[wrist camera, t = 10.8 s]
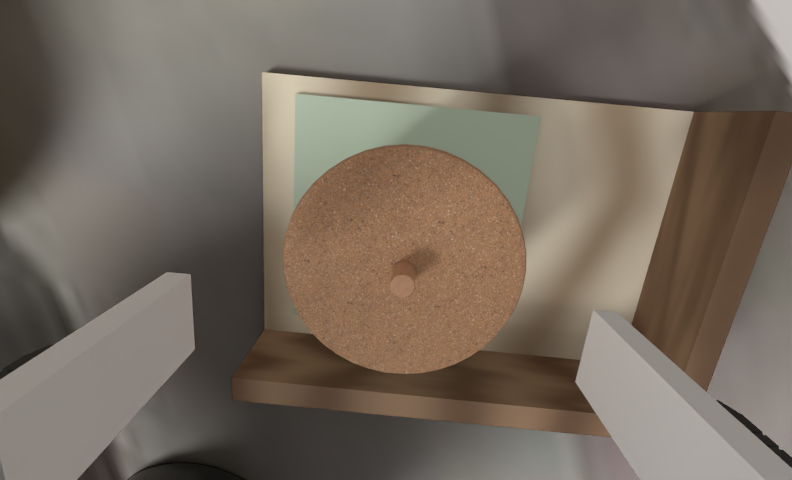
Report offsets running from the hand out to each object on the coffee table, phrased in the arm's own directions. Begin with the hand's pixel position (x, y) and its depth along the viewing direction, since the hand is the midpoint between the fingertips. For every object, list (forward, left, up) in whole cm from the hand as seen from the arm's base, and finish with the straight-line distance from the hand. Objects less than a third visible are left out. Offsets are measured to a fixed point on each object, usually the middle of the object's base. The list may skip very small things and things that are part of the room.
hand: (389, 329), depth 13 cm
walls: (+4, -1, -13) cm, 14 cm away
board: (+4, -1, -13) cm, 14 cm away
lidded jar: (0, 0, -13) cm, 13 cm away
